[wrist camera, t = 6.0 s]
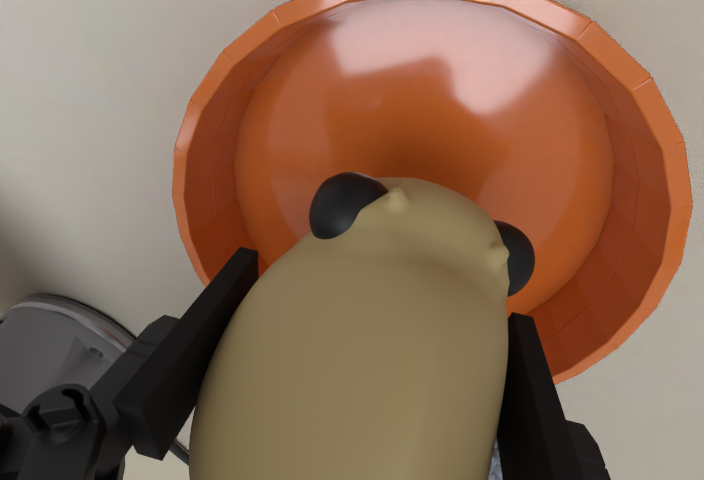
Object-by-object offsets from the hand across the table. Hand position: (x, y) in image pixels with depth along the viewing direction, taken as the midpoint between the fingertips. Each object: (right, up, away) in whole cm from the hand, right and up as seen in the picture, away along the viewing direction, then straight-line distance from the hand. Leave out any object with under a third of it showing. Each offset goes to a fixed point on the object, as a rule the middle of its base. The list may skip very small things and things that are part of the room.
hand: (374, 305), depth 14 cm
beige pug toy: (+1, +1, +2) cm, 2 cm away
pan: (+2, +4, +6) cm, 7 cm away
